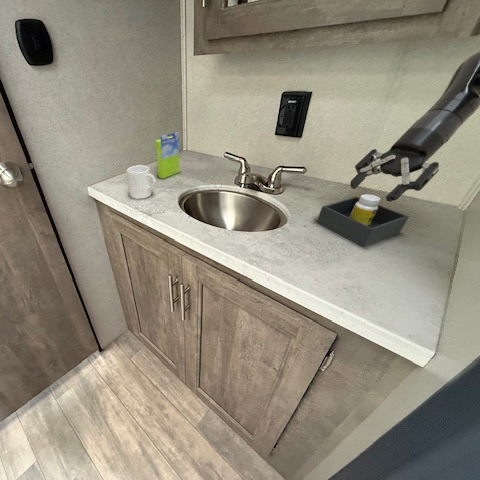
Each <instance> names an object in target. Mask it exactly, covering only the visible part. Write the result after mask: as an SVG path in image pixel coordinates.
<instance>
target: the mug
mask: <svg viewBox="0 0 480 480" xmlns="http://www.w3.org/2000/svg"><path fill="white" fill-rule="evenodd" d="M150 171H151V169H150V167H149V166H147V165H144V164H143V165H142V164H141V165H133V166H130V167H128V168H126V176H127V182H128V189H129V195H130V197H131V198H132V199H137V200H138V199H139V200H140V199H141V200H142V199H146V198H148V197H150V196H151V195H152V189H153V188H155V186H156V183H157V180H156V177H155V176H154V175H153V174H152V173H151V172H150ZM151 180H152V181H151ZM151 182H152V183H151Z"/></svg>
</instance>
